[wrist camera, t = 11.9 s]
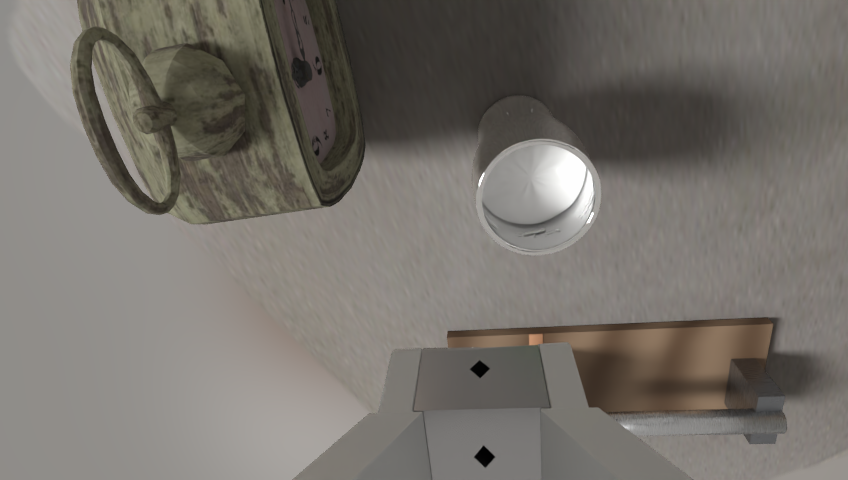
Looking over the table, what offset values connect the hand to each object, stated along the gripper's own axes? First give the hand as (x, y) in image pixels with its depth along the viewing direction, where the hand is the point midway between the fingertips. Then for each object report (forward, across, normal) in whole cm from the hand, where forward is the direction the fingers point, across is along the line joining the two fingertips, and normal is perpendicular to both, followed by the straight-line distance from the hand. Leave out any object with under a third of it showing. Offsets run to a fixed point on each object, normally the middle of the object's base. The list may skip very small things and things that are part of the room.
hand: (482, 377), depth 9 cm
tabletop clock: (+34, +13, -3) cm, 37 cm away
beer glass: (+34, -3, +4) cm, 35 cm away
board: (+34, -10, +28) cm, 45 cm away
